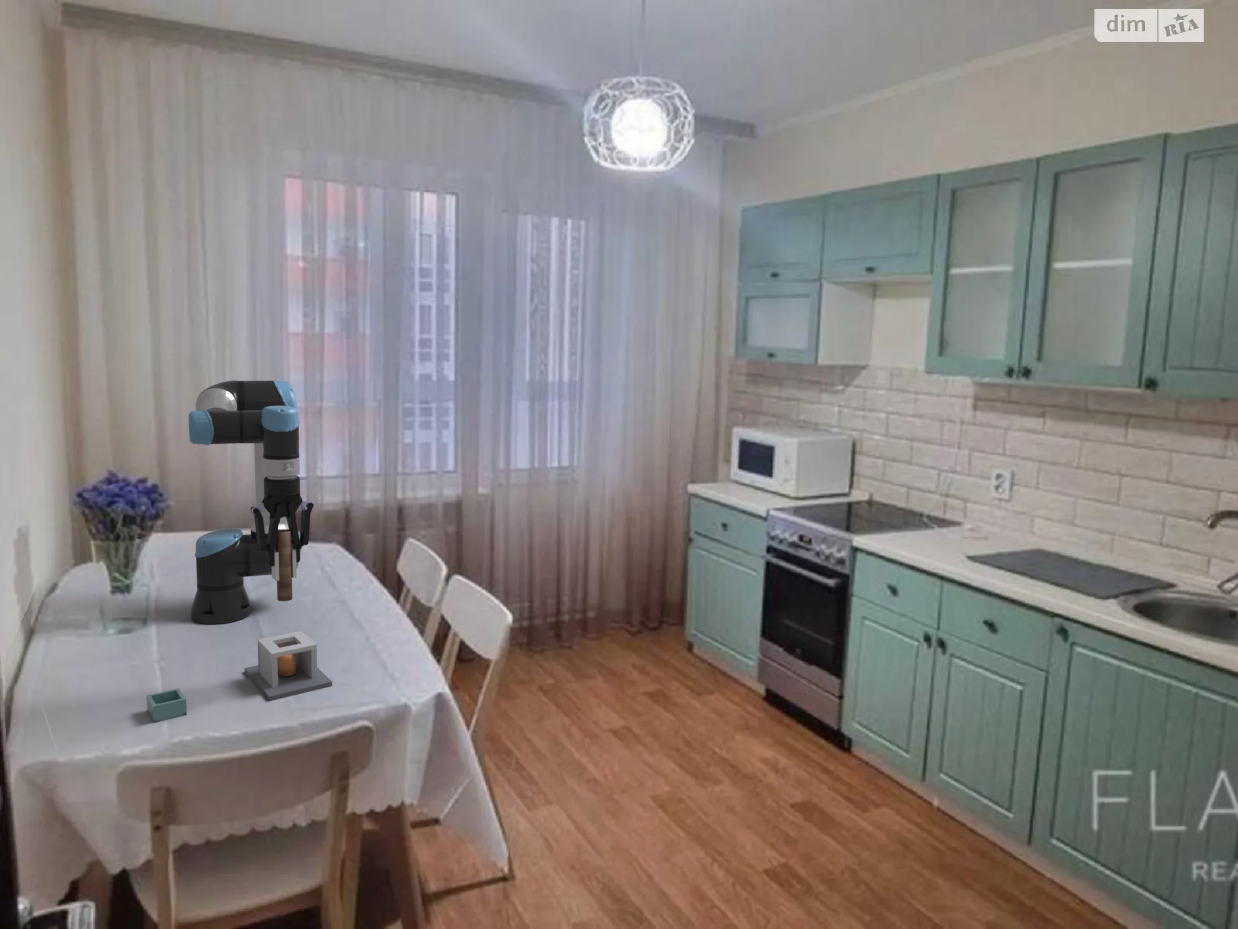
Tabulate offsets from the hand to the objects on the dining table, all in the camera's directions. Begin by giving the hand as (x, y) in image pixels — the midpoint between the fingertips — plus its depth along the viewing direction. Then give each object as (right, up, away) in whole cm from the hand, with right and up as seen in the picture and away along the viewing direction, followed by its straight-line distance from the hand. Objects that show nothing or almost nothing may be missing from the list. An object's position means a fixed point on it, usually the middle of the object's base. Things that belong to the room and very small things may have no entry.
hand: (284, 577), depth 194 cm
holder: (-19, -27, -14) cm, 36 cm away
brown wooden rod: (0, -5, +1) cm, 5 cm away
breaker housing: (-1, -24, +5) cm, 25 cm away
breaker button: (-1, -23, +4) cm, 23 cm away
